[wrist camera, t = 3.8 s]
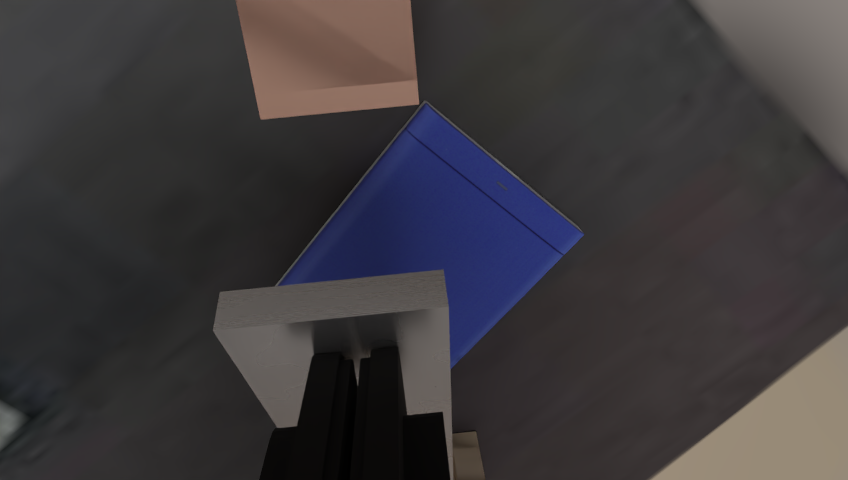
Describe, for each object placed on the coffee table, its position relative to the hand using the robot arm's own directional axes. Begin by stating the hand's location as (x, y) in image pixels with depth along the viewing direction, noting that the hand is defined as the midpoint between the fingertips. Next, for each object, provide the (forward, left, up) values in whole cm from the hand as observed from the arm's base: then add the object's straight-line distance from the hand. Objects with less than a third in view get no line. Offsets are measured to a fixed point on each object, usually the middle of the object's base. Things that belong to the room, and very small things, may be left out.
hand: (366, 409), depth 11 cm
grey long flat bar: (-5, 0, -4) cm, 7 cm away
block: (+7, 0, -11) cm, 13 cm away
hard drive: (-3, -1, -12) cm, 13 cm away
